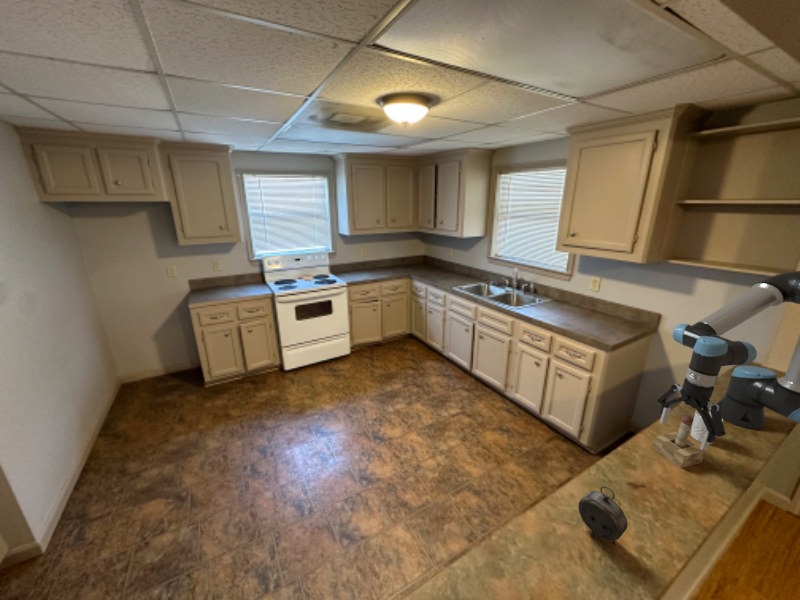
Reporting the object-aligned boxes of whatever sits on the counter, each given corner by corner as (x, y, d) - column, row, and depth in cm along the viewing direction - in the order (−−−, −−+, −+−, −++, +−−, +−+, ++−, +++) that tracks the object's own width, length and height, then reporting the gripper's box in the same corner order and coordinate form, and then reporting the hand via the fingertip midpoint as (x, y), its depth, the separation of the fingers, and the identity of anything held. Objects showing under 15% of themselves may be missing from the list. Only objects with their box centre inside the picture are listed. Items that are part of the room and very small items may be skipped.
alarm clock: (622, 544, 89) (636, 497, 84) (613, 556, 86) (626, 508, 81) (581, 513, 97) (592, 469, 92) (571, 523, 94) (581, 478, 89)
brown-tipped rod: (674, 451, 121) (686, 414, 117) (683, 457, 119) (695, 419, 114) (669, 453, 121) (680, 415, 116) (677, 458, 118) (689, 420, 113)
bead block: (672, 442, 126) (675, 431, 124) (701, 462, 117) (705, 450, 115) (652, 447, 123) (655, 436, 122) (680, 468, 114) (684, 456, 112)
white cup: (720, 446, 124) (728, 424, 121) (696, 443, 126) (704, 421, 123) (706, 432, 131) (714, 411, 128) (683, 429, 133) (690, 408, 130)
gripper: (654, 365, 121) (641, 415, 128) (736, 405, 98) (715, 463, 105) (669, 363, 123) (655, 411, 130) (753, 401, 100) (732, 458, 107)
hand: (682, 434), depth 117 cm, fingers open, 13 cm apart
